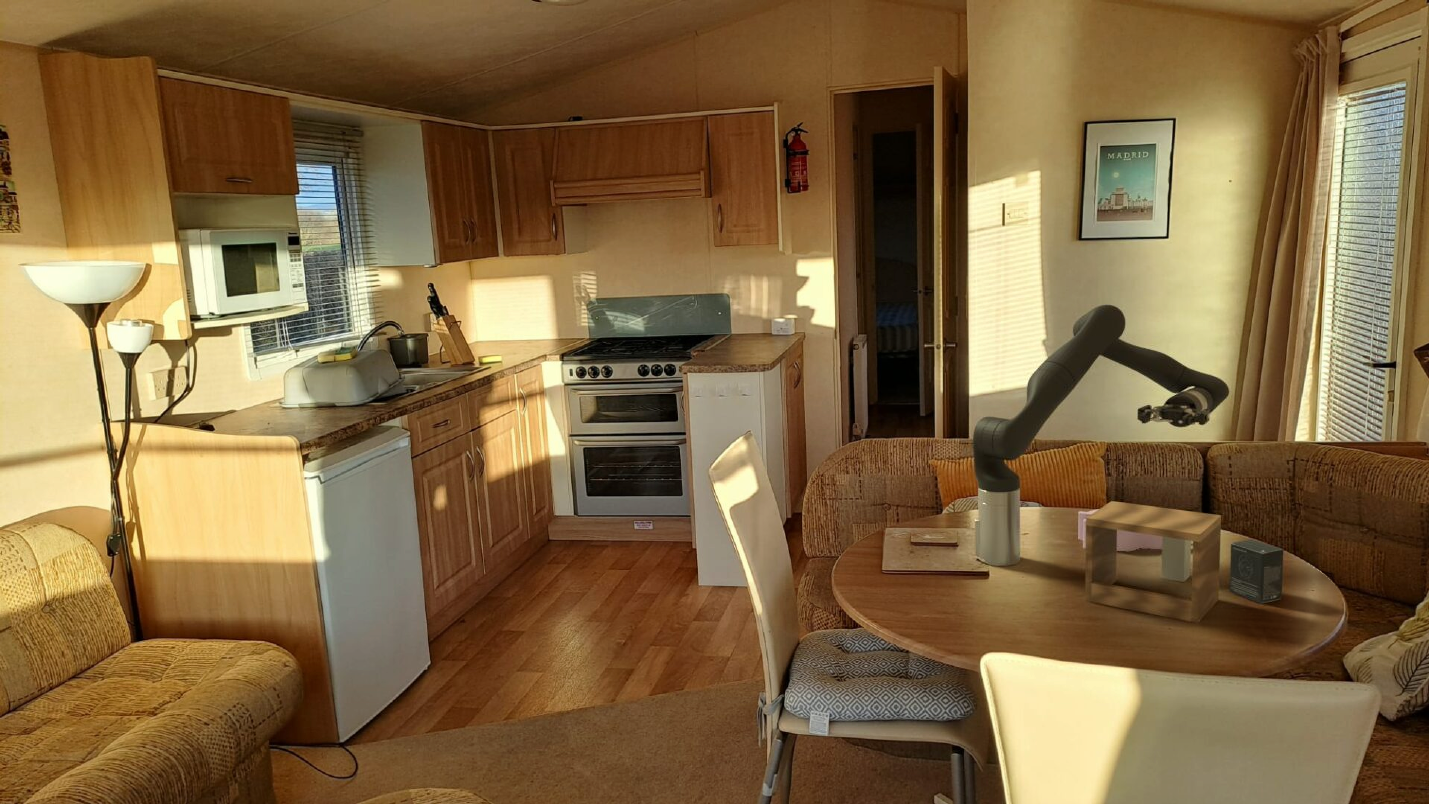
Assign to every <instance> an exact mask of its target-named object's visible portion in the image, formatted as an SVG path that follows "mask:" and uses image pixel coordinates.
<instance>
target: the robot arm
mask: <svg viewBox="0 0 1429 804" xmlns="http://www.w3.org/2000/svg"><path fill="white" fill-rule="evenodd" d="M1125 329H1126V317H1125V315H1124V312H1123V311H1122V310H1121V309H1120V308H1119V307H1118V306H1116V305H1112V304H1102V305H1098V306H1096V307H1094V308H1093V309H1091V310H1088V311H1087V313H1085V314H1084V315H1082V316H1081V317H1079V318H1078V319H1077V320H1076V321H1075V323H1074V324H1073V327H1072V335H1073V337H1072V338H1071V339H1070V340H1068V341H1067V342H1066V343H1064V344H1063V345H1062V346H1060V347H1059V348H1058V349H1057V350H1055V351H1054V352H1053V353H1052V354H1050V355H1049V356H1048V358H1046V359H1045V360H1044V361H1043V362H1042V363H1041V364H1040V365H1039V366H1038V367H1037V369H1036V370H1035V371H1034V372H1033V373H1032V374H1031V376H1030V377H1029V380H1028V382H1027V386H1026V403H1025V405H1024V406H1023V408H1022V409H1021V410H1020V412H1018V414H1016V416H1015V417H1013V418H1009V419H1008V418H1003V417H995V416H985V417H982V418H981V419H979V421H977V423H976V425H975V427H974V430H973V435H972V450H973V451H972V454H973V468H974V475H975V478H976V481H977V501H978V504H977V505H978V506H977V507H978V509H977V510H978V511H977V512H978V514H977V516H978V517H977V518H976V519H975V520H974V557H975V556H977V557H980V558H981V559H984V560H985V562H987V564H986V565H990V566H995V567H1000V566H1001V567H1004V566H1005V567H1006V566H1013V565H1016V564H1019V562H1020V561H1021V479H1020V475H1018V474H1017V472H1015V471H1014V470H1012V469H1011V468H1010V467H1009V466H1008V465H1007V464H1006V462H1007V461H1011V462H1012V461H1015V460H1018V459H1019V458H1021V457H1022V456H1023V455H1024V454H1025V452H1026V451H1027V450H1028V448H1029V447H1030V445H1031V444H1032V443H1033V441H1034V440H1035V438H1036V436H1037V435H1038V433H1039V432H1040V430H1041V429H1042V427H1043V426H1044V425H1045V423H1046V422H1047V421H1048V419H1049V418H1050V417H1051V416H1052V415H1053V413H1054V412H1055V411H1056V409H1057V408H1058V407H1059V406H1060V405H1061V404H1062V403H1063V402H1064V401H1065V400H1066V399H1067V398H1068V396H1069V395H1070V394H1071V393H1072V391H1074V389H1075V388H1076V387H1077V385H1078V384H1079V383H1080V381H1082V379H1083V377H1085V376H1086V374H1087V372H1089V370H1091V369H1090V368H1091V367H1092V366H1093V364H1094V363H1095V361H1096V360H1097V359H1098V358H1099V357H1100V356H1101V357H1103V358H1105V359H1108V360H1110V361H1113V362H1115V363H1118V364H1120V365H1122V366H1124V367H1125V368H1129V369H1130V370H1132V371H1135V372H1137V373H1139V374H1140V375H1143V376H1144V377H1146V378H1147V379H1150V380H1151V381H1152V382H1154V383H1156V384H1157V385H1159V386H1160V387H1162V388H1164V389H1165V390H1166V391H1169V392H1170V393H1172V394H1174V395H1173V396H1171V397H1169V398H1167V400H1166V401H1165V402H1164V403H1163V405H1161V406H1160V405H1159V406H1157V405H1156V406H1153V408H1152V405H1150V404H1147V405H1144V406H1141V407H1139V408H1137V420H1138V421H1139V422H1141V424H1143V425H1145V424H1147V423H1149V422H1155V423H1163V422H1166V423H1168V424H1170V425H1171V426H1173V427H1175V428H1176V427H1177V428H1187V427H1189V426H1193V425H1196V424H1197V423H1198V425H1200V426H1205V425H1206V424H1207V423H1208V422H1209V421H1210V417H1211V414H1212V413H1213V412H1214V411H1215V409H1217V408H1218V407H1219V406H1220V405H1221V404H1222V403H1223V402H1224V401H1225V400H1226V399H1227V398H1228V397H1229V394H1230V388H1229V386H1228V385H1227V383H1226V382H1225V381H1224V380H1223V379H1221V378H1219V377H1217V376H1214V375H1212V374H1208V373H1205V372H1201V371H1198V370H1195V369H1193V368H1190V367H1188V366H1186V365H1185V364H1183V363H1181V362H1179V361H1178V360H1176V359H1175V358H1173V357H1171V356H1170V355H1168V354H1166V353H1164V352H1161V351H1158V350H1154V349H1151V348H1145V347H1142V346H1138V345H1135V344H1132V343H1129V342H1126V341H1124V340H1123V339H1121V336H1122V335H1123V334H1124V332H1125ZM1005 461H1006V462H1005Z"/></svg>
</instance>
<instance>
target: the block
mask: <svg viewBox="0 0 1429 804" xmlns="http://www.w3.org/2000/svg"><path fill="white" fill-rule="evenodd" d="M1191 553H1192V541H1189V540H1182V539H1176V538H1169V537H1162V549H1161V579H1164V578H1165V579H1164V580H1169V581H1175V582H1180V583H1185V581H1186V580H1188V579H1189V578H1190V576H1191V558H1192V557H1191V555H1192V554H1191Z"/></svg>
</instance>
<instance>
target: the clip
mask: <svg viewBox="0 0 1429 804" xmlns="http://www.w3.org/2000/svg"><path fill="white" fill-rule="evenodd" d="M1099 509H1100V508H1099ZM1099 509H1093V510H1090V511H1084V510H1083V511H1078V524H1077V526H1078V529H1077V530H1078V540H1079V539H1080V541H1082V547H1083V549H1085V548H1086V518H1087V517H1088V516H1090V515H1091V514H1093V513H1094V512H1096V511H1097V510H1099ZM1139 548H1142V549H1148V548H1150V549H1149V550H1162V536H1155V535H1149V534H1142V533H1135V532H1129V531H1122V530H1117V551H1126V552H1131V551H1136V549H1137V550H1140V549H1139Z"/></svg>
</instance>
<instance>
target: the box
mask: <svg viewBox="0 0 1429 804" xmlns="http://www.w3.org/2000/svg"><path fill="white" fill-rule="evenodd" d="M1283 566H1284V548H1281V547H1278V546H1275V545H1271V544H1268V543H1264V542H1262V541H1258V540H1254V539H1246V540H1240V541H1235V542H1231V543H1230V566H1229V567H1230V568H1229V574H1230V575H1229V593H1231V594H1234V595H1236V596H1237V595H1238V596H1241V597H1242V598H1245V599H1248V600H1251V601H1253V602H1256V603H1259V604H1264V603H1266V604H1267V603H1271V602H1275V601H1280V600H1282V596H1283V595H1282V594H1283V593H1282V592H1283V572H1284V570H1283V569H1284V567H1283Z"/></svg>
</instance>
